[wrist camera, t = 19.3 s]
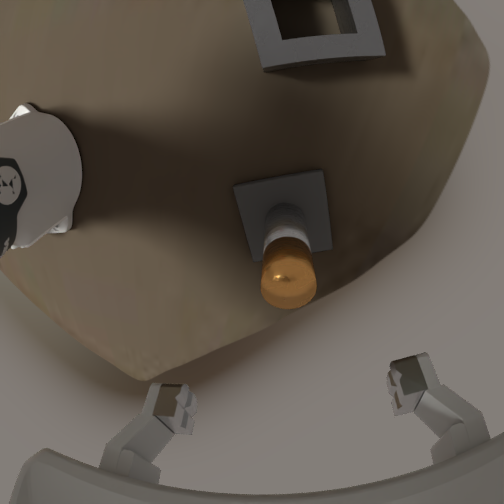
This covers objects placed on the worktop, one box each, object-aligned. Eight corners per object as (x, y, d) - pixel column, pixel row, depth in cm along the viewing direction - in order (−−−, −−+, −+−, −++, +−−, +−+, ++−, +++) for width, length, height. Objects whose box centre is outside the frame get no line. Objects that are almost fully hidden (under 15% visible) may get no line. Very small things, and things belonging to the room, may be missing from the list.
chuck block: (264, 72, 22) (262, 67, 18) (239, -15, 17) (232, -34, 13) (367, 60, 21) (385, 55, 16) (341, -26, 16) (354, -44, 11)
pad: (253, 258, 33) (253, 262, 32) (233, 185, 29) (232, 187, 28) (331, 245, 32) (332, 249, 31) (321, 168, 27) (323, 171, 26)
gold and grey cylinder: (262, 206, 29) (255, 270, 20) (301, 199, 28) (313, 261, 19) (270, 240, 31) (266, 312, 22) (306, 234, 30) (319, 305, 21)
